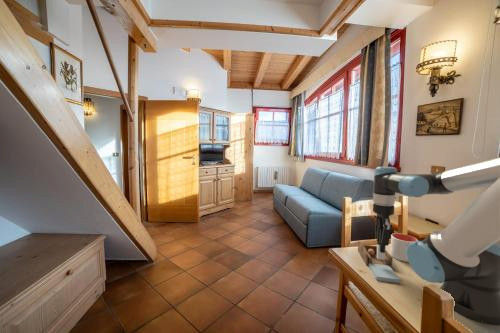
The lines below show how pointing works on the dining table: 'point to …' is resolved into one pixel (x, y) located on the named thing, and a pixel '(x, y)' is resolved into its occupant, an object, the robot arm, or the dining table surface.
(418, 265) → the robot arm
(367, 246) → the walnut box
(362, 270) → the dining table surface
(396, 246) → the cup
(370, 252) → the ball
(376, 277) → the cover slab
